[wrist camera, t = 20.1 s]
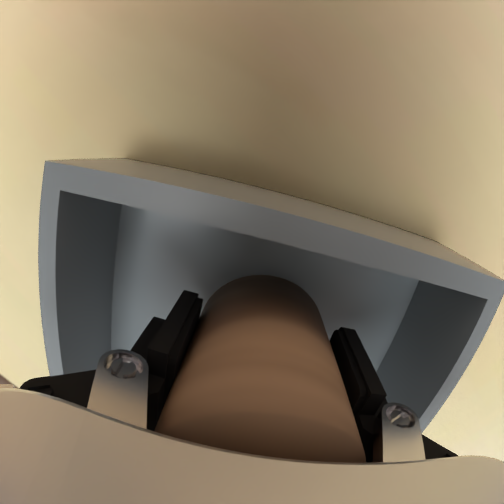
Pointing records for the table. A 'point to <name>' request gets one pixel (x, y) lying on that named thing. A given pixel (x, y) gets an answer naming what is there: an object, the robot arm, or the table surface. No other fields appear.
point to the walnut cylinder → (262, 378)
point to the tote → (248, 270)
